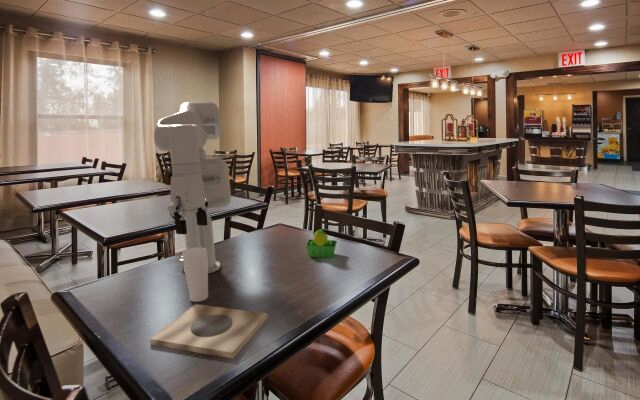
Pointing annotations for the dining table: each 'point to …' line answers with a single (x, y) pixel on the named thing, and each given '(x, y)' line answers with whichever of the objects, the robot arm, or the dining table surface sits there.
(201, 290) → the drinking glass
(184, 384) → the dining table surface
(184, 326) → the serving board
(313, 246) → the fruit basket
